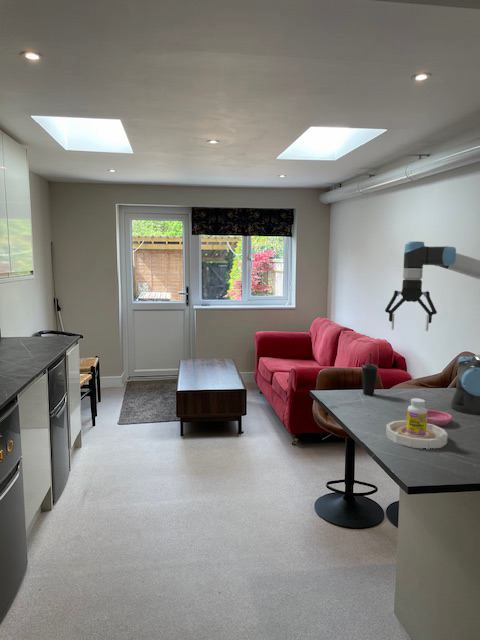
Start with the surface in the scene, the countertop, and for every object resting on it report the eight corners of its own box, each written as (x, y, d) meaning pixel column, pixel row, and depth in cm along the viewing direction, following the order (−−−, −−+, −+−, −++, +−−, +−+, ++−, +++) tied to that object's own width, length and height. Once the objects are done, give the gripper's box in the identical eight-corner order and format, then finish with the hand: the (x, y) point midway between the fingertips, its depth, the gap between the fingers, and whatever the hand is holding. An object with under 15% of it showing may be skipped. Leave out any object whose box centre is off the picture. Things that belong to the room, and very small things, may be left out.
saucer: (418, 424, 181) (418, 417, 180) (417, 415, 192) (418, 408, 192) (452, 429, 176) (453, 421, 176) (450, 419, 188) (450, 411, 188)
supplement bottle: (405, 436, 164) (407, 401, 163) (406, 430, 171) (408, 396, 169) (425, 439, 162) (427, 403, 160) (426, 433, 168) (428, 398, 166)
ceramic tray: (439, 430, 174) (440, 423, 173) (451, 451, 154) (452, 442, 154) (384, 425, 178) (384, 418, 178) (388, 445, 159) (389, 436, 158)
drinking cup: (375, 392, 226) (377, 352, 224) (378, 396, 218) (380, 355, 216) (359, 391, 227) (361, 351, 224) (361, 396, 219) (363, 354, 217)
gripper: (442, 279, 193) (439, 330, 195) (380, 278, 198) (377, 327, 201) (446, 280, 185) (442, 332, 188) (381, 278, 191) (379, 329, 193)
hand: (409, 330), depth 194 cm, fingers open, 13 cm apart
